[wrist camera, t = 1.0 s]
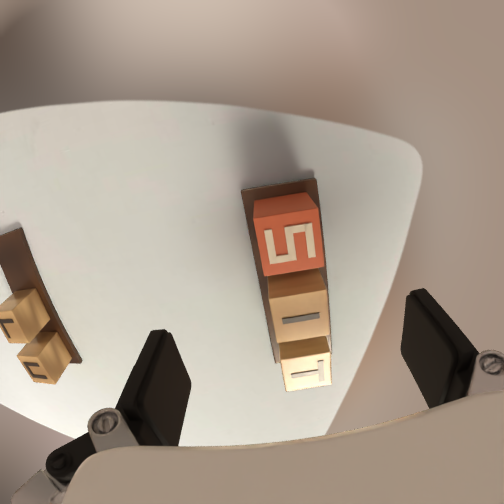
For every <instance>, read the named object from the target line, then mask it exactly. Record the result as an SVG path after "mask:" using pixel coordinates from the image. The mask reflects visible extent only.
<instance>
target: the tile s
mask: <svg viewBox="0 0 504 504" xmlns="http://www.w3.org/2000/svg"><path fill="white" fill-rule="evenodd" d="M253 221H254V226H255V231H256V236H257V242H258V247H259V252H260V257H261V263H262V268H263V273H264V276H270V275H277V274H283V273H289V272H295V271H301V270H307V269H313V268H319V267H324V256H323V246H322V237H321V228H320V219H319V211H318V207H317V206H316V205H315V203H314V202H313V200H312V199H311V198H310V196H309V195H308V194H307V192H303V193H297V194H291V195H284V196H278V197H272V198H266V199H260V200H255V201H254V213H253Z"/></svg>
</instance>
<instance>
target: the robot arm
mask: <svg viewBox="0 0 504 504" xmlns="http://www.w3.org/2000/svg"><path fill="white" fill-rule="evenodd" d="M401 354H402V356H403V358H404V360H405V362H406V364H407V366H408V367H409V369H410V371H411V373H412V375H413V377H414V379H415V381H416V383H417V384H418V387H419V389H420V391H421V392H422V395H423V396H424V399H425V401H426V402H427V405H428V407H429V409H428V410H425V411H422V412H418V413H415V414H411V415H409V416H405V417H401V418H398V419H394V420H391V421H388V422H383V423H380V424H376V425H372V426H367V427H364V428H359V429H354V430H349V431H345V432H340V433H335V434H329V435H324V436H318V437H312V438H305V439H298V440H290V441H282V442H273V443H263V444H251V445H235V446H197V447H179V446H178V444H179V440H180V435H181V430H182V426H183V421H184V417H185V412H186V408H187V404H188V399H189V395H190V390H191V380H190V377H189V375H188V373H187V370H186V368H185V366H184V363H183V361H182V358H181V356H180V354H179V351H178V349H177V346H176V344H175V341H174V338H173V336H172V334H171V333H170V332H169V333H168V332H167V331H166V330H165V329H162V330H152V331H151V332H150V334H149V336H148V338H147V340H146V342H145V344H144V347H143V349H142V351H141V353H140V355H139V357H138V360H137V362H136V364H135V365H134V367H133V369H132V371H131V374H130V376H129V378H128V380H127V382H126V385H125V387H124V389H123V391H122V394H121V396H120V398H119V401H118V403H117V405H116V408H115V409H114V408H104V409H101V410H99V411H97V412H96V413H94V414H93V415H92V416H91V418H90V419H89V421H88V425H87V427H88V432H87V433H86V434H84V435H82V436H80V437H78V438H77V439H75V440H73V441H71V442H69V443H67V444H65V445H64V446H62V447H60V448H58V449H56V450H54V451H53V452H52V453H51V454H50V455H49V456H48V458H47V460H46V470H44V471H43V470H42V469H40V470H39V471H38V472H37V473H36V474H35V475H34V476H33V477H31V478H30V479H29V480H28V481H27V482H26V483H25V484H23V485H22V486H21V487H20V488H19V489H18V490H17V491H16V492H15V493H14V494H13V495H12V498H11V504H504V354H503V353H501V352H499V351H496V350H486V351H483V352H481V353H479V352H478V351H477V350H476V348H475V347H474V346H473V345H472V343H471V342H470V341H469V340H468V338H467V337H466V336H465V335H464V333H463V332H462V331H461V330H460V329H459V327H458V326H457V325H456V324H455V322H453V320H452V319H451V318H450V317H449V315H448V314H447V313H446V312H445V311H444V310H443V308H442V307H441V306H440V305H439V304H438V303H437V302H436V300H435V299H434V298H433V297H432V296H431V295H430V294H429V293H428V292H427V290H426V289H424V288H422V289H418V290H413V291H411V292H410V295H408V296H407V297H406V307H405V316H404V326H403V334H402V342H401Z"/></svg>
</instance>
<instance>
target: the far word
mask: <svg viewBox="0 0 504 504" xmlns="http://www.w3.org/2000/svg"><path fill="white" fill-rule="evenodd" d="M0 265H1V267H2V270H3V272H4V274H5V277H6V279H7V282H8V284H9V286H10V288H11V291H12V293H13V294H12V295H11V296H10V297H9V298H7V299H6V300H5V301H4V302H3V303H2V304H1V305H0V328H1V329H2V331H3V333H4V335H5V337H6V338H7V340H8V342H9V343H27V344H26V345H25V346H24V347H23V349H22V350H21V351H20V352H19V353H18V355H17V357H18V359H19V360H20V362H21V363H22V365H23V366H24V368H25V369H26V371H27V372H28V374H29V375H30V377H31V378H32V380H33V381H34V382H39V383H47V384H56V383H57V381H58V380H59V378H60V376H61V375H62V373H63V372H64V370H65V369H66V367H67V366H68V364H69V363H78V364H81V362H82V359H81V357H80V356H79V354H78V352H77V350H76V349H75V347H74V345H73V343H72V341H71V340H70V338H69V336H68V334H67V332H66V330H65V328H64V326H63V324H62V323H61V321H60V319H59V317H58V315H57V313H56V310H55V308H54V306H53V304H52V302H51V300H50V298H49V296H48V293H47V291H46V289H45V287H44V284H43V282H42V280H41V277H40V275H39V272H38V270H37V267H36V265H35V262H34V260H33V257H32V255H31V252H30V249H29V246H28V244H27V241H26V238H25V235H24V232H23V229H22V228H19V229H16V230H14V231H11V232H8V233H6V234H3V235H0Z"/></svg>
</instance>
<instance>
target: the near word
mask: <svg viewBox="0 0 504 504" xmlns="http://www.w3.org/2000/svg"><path fill="white" fill-rule="evenodd" d="M303 192H307V194H308V195H309V196H310V198H311V199H312V200H313V202H314V203H315V205H316V206H317V207H318V211H319V219H320V228H321V237H322V246H323V256H324V267H319V268H313V269H307V270H301V271H295V272H289V273H283V274H277V275H270V276H264V273H263V268H262V263H261V257H260V252H259V247H258V242H257V236H256V231H255V226H254V221H253V213H254V201H255V200H260V199H266V198H272V197H278V196H284V195H291V194H297V193H303ZM241 194H242V199H243V204H244V209H245V214H246V219H247V224H248V229H249V234H250V239H251V244H252V249H253V254H254V259H255V264H256V269H257V274H258V279H259V284H260V289H261V294H262V299H263V305H264V310H265V315H266V320H267V325H268V330H269V335H270V340H271V345H272V350H273V355H274V360H275V363H281V368H282V374H283V379H284V385H285V390H286V391H294V390H300V389H307V388H313V387H319V386H324V385H330V384H331V383H332V381H331V354H332V345H331V325H330V309H329V294H328V281H327V269H326V258H325V248H324V238H323V229H322V220H321V211H320V203H319V195H318V188H317V181H316V179H315V178H311V179H304V180H298V181H291V182H285V183H279V184H273V185H267V186H261V187H255V188H250V189H244V190H241Z"/></svg>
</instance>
